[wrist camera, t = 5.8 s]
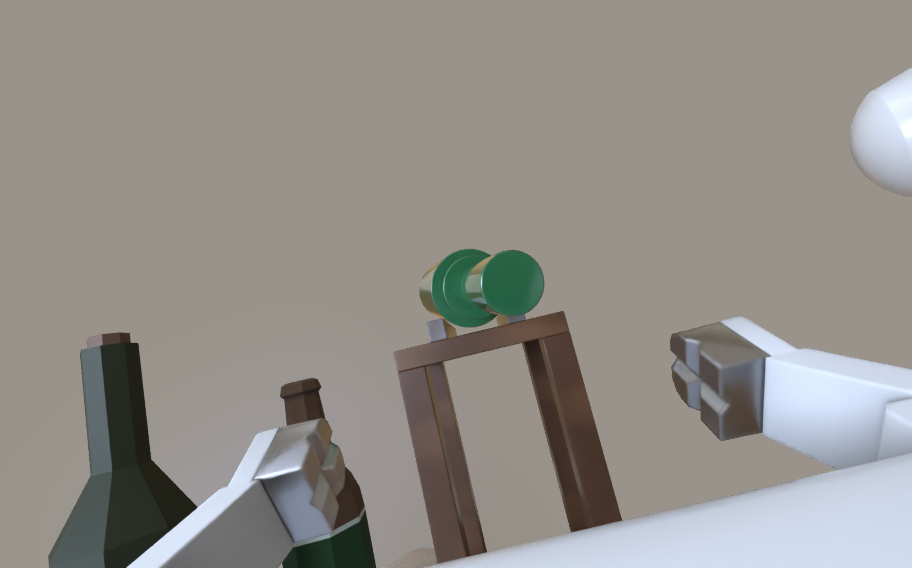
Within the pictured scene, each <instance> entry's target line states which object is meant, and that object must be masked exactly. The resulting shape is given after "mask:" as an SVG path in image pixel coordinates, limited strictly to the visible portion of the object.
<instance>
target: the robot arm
mask: <svg viewBox="0 0 912 568" xmlns="http://www.w3.org/2000/svg"><path fill="white" fill-rule="evenodd" d="M850 149H851V153H852V156H853V159H854V161H855V163H856V165H857V167H858V168H859V169H860V170H861V172H862V173H863V174H864V175H865V176H866V177H867V178H868V179H870V180H871V181H872V182H873V183H875V184H876V185H878V186H880V187H882V188H884V189H886V190H888V191H891V192H893V193H896V194H899V195H903V196H908V197H912V68H910V69H908V70H906V71H905V72H903V73H901V74H900V75H898V76H896V77H895V78H893V79H891V80H889V81H888V82H886V83H884V84H883V85H881V86H879V87H878V88H876V89H874V90H873V91H871V92H870V93H868V94H867V96H866V97H865V98H864V100H863V101H862V103H861V104H860V106H859V108H858V110H857V112H856V114H855V116H854V119H853V122H852V125H851V130H850ZM670 349H671V351H672V352H673V353H674V354H675V355H676V356H677V359H676V361H675V362H674V363H673V365H672V367H671V368H672V378H673V382H674V384H675V387H676V390H677V392H678V394H679V395H680V397H681V399H682V400H683V401H684V402H685V403H686V404H687V405H688V406H689V407H691V408H694V409H696V410H699V411H701V421H702V422H703V423H704V424H705V425H706V426H707V427H708V428H709V429H710V430H711V431H712V432H713V433H714V434H715V435H716V436H717V438H718V439H719V440H721V441H724V440H729V439H734V438H739V437H743V436H748V435H753V434H758V433H763V435H765V436H767V437H769V438H771V439H773V440H775V441H777V442H780V443H782V444H784V445H786V446H788V447H790V448H792V449H794V450H797V451H799V452H801V453H803V454H805V455H808V456H809V457H811V458H814V459H816V460H818V461H820V462H822V463H824V464H826V465H828V466H831V467H833V468H835V469H837V471H833V472H828V473H824V474H820V475H816V476H811V477H807V478H803V479H799V480H795V481H790V482H786V483H782V484H778V485H774V486H769V487H765V488H761V489H756V490H752V491H748V492H743V493H739V494H735V495H731V496H726V497H722V498H718V499H713V500H709V501H704V502H700V503H696V504H692V505H687V506H683V507H679V508H674V509H670V510H666V511H661V512H657V513H653V514H649V515H644V516H640V517H635V518H632V519H627V520H622V521H618V522H614V523H609V524H605V525H601V526H597V527H592V528H588V529H584V530H580V531H575V532H571V533H567V534H563V535H558V536H554V537H550V538H546V539H541V540H538V541H533V542H529V543H525V544H520V545H516V546H512V547H508V548H503V549H499V550H495V551H491V552H486V553H482V554H478V555H473V556H469V557H465V558H461V559H456V560H452V561H448V562H443V563H439V564H435V565H431V566H426V567H422V568H912V370H911V369H906V368H901V367H896V366H891V365H886V364H881V363H876V362H872V361H867V360H862V359H857V358H852V357H847V356H842V355H837V354H832V353H827V352H822V351H817V350H813V349H807V348H804V349H800V350H798V349H796V348H794V347H792V346H791V345H789V344H788V343H786V342H785V341H783V340H781V339H780V338H778V337H776V336H775V335H773V334H771V333H770V332H768V331H766V330H765V329H763V328H761V327H760V326H758V325H756V324H755V323H753V322H751V321H750V320H748V319H746V318H745V317H739V316H737V317H733V318H730V319H726V320H722V321H719V322H716V323H713V324H709V325H705V326H701V327H698V328H693V329H690V330H686V331H682V332H678V333H674V334H672V336H671V339H670ZM331 435H332V430H331V428H330V426H329V424H328V422H327V420H325V419H323V418H320V419H316V420H311V421H307V422H302V423H298V424H293V425H289V426H285V427H281V428H275V429H271V430H267V431H263V432H260V433H259V434H257V435H256V436H255V438H254V440H253V442H252V444H251V445H250V447H249V449H248V451H247V453H246V455H245V456H244V458H243V460H242V462H241V463H240V465H239V467H238V469H237V471H236V473H235V475H234V476H233V478H232V480H231V482H230V484H229V486H228V487H225V488H221V489H220V490H218V491H217V492H216V493H215V494H214V495H212V496H211V497H210V498H209V499H208V500H206V501H205V502H204V503H203V504H202V505H201V506H199V507H198V508H197V509H196V510H195V511H193V512H192V513H191V514H190V515H189V516H187V517H186V518H185V519H184V520H183V521H181V522H180V523H179V524H178V525H177V526H175V527H174V528H173V529H172V530H171V531H170V532H168V533H167V534H166V535H165V536H164V537H162V538H161V539H160V540H159V541H158V542H156V543H155V544H154V545H153V546H152V547H150V548H149V549H148V550H147V551H146V552H145V553H143V554H142V555H141V556H140V557H139V558H137V559H136V560H135V561H134V562H133V563H131V564H130V565H129V566H128V567H127V568H278V567H279V566H280V565H281V563H282V562H283V560H284V559H285V558H286V556H287V555H288V554H289V552H290V551H291V549H292V548H293V547H294V543H297V542H301V541H304V540H308V539H312V538H315V537H319V536H323V535H327V534H330V533H333V531H334V526H335V522H336V517H337V513H338V509H339V504H338V502H337V500H336V496H337V495H338V494H339V493H340V492H341V491H342V489H343V486H344V481H345V464H344V460H343V456H342V453H341V451H340V448H339V447H338V446H337V445H335V444H333V443H332V442H330V439H331Z"/></svg>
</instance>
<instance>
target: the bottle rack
mask: <svg viewBox="0 0 912 568" xmlns="http://www.w3.org/2000/svg"><path fill="white" fill-rule="evenodd" d="M497 323H498V327H494V328H490V329H486V330H482V331H477V332H473V333H469V334H465V335H461V336H457V334H456V330H455V328H454V327H453V326H451V325H450V324H449V323H448V322H446V321H445V320H444V319H438V320H434V321H429V322H427V323H426V324H427V329H428V333H429V337H430V342H431V343H427V344H424V345H419V346H415V347H411V348H407V349H403V350H398V351H395V352H394V356H395V361H396V365H397V371H398V372H399V373H398V375H399V380H400V385H401V390H402V395H403V399H404V404H405V409H406V414H407V419H408V423H409V428H410V433H411V438H412V443H413V447H414V452H415V457H416V462H417V466H418V471H419V476H420V481H421V485H422V490H423V495H424V500H425V504H426V509H427V514H428V519H429V524H430V528H431V533H432V538H433V543H434V548H435V553H436V557H437V562H438V564H439V563H443V562H448V561H452V560H456V559H461V558H465V557H469V556H473V555H478V554H482V553H486V552H487V551H486V547H485V542H484V537H483V533H482V529H481V524H480V520H479V515H478V511H477V507H476V502H475V498H474V493H473V490H472V485H471V480H470V476H469V472H468V467H467V463H466V458H465V454H464V449H463V445H462V441H461V437H460V432H459V428H458V423H457V419H456V414H455V410H454V405H453V402H452V397H451V392H450V388H449V384H448V379H447V375H446V370H445V366H444V361H447V360H452V359H456V358H460V357H464V356H468V355H472V354H477V353H481V352H485V351H490V350H494V349H498V348H501V347H506V346H510V345H515V344H519V343H522V345H523V349H524V352H525V356H526V360H527V364H528V367H529V372H530V376H531V379H532V383H533V387H534V391H535V395H536V399H537V403H538V406H539V410H540V414H541V418H542V421H543V426H544V429H545V434H546V437H547V441H548V445H549V449H550V453H551V457H552V461H553V464H554V468H555V472H556V476H557V480H558V483H559V488H560V491H561V495H562V499H563V503H564V507H565V511H566V515H567V518H568V522H569V526H570V530H571V532H575V531H580V530H584V529H588V528H592V527H597V526H601V525H605V524H609V523H614V522H618V521H622V518H621V515H620V511H619V508H618V504H617V500H616V497H615V493H614V490H613V486H612V482H611V479H610V475H609V472H608V468H607V464H606V461H605V458H604V454H603V450H602V446H601V443H600V439H599V436H598V432H597V428H596V425H595V421H594V418H593V414H592V410H591V407H590V403H589V400H588V396H587V392H586V389H585V385H584V382H583V378H582V374H581V371H580V367H579V364H578V360H577V356H576V353H575V349H574V346H573V342H572V339H571V335H570V332H568V331H569V328H568V325H567V321H566V317H565V314H564V311H561V312H557V313H553V314H548V315H544V316H540V317H536V318H532V319H527V320H525V314H522V315H519V316H506V315H500V314H499V315H498V317H497Z"/></svg>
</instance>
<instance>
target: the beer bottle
mask: <svg viewBox="0 0 912 568" xmlns="http://www.w3.org/2000/svg"><path fill="white" fill-rule="evenodd" d="M320 388H321V385H320V383H319V381H318V379H314V378H310V379H305V380H301V381H297V382H292V383H288V384H285V385H284V386H282V388H281V394H280V397H281V398H283V399H284V401H285V411H286V421H287V426H289V425H293V424H298V423H302V422H307V421H311V420H316V419H320V418H323V419H325V416H324V412H323V408H322V403H321V400H320V395H319V390H320ZM330 442H331V440H330ZM336 500H337V502H338V504H339V509H338V513H337V517H336V522H335V526H334V531H333V533H330V534H327V535H323V536H319V537H315V538H312V539H308V540H304V541H301V542H297V543H294V547H293V548H292V549H291V551H290V552H289V554H288V555H287V556H286V558H285V559H284V560H283V562H282V565H283V568H376V564H375V559H374V553H373V548H372V542H371V537H370V532H369V527H368V521H367V517H366V511H365V505H364V502H363V498H362V495H361V491H360V487H359V485H358V483H357V482H356V480H355V478H354V477H353V475H352V473H351V472H350V471H349V470H348V469H347V468H346V467H345V481H344V486H343V489H342V491H341V492H340V493H339V494H338V495H337V496H336Z"/></svg>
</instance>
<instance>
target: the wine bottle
mask: <svg viewBox="0 0 912 568" xmlns="http://www.w3.org/2000/svg"><path fill="white" fill-rule="evenodd" d="M87 345H88V348H87V349H84V350H81V352H80V358H81V369H82V381H83V392H84V403H85V415H86V426H87V437H88V449H89V460H90V471H91V476H90V478H89V480H88V482H87V484H86V486H85V488H84V489H83V491H82V493H81V495H80V497H79V499H78V501H77V503H76V505H75V507H74V508H73V510H72V512H71V514H70V516H69V518H68V520H67V522H66V524H65V526H64V527H63V529H62V531H61V533H60V535H59V537H58V539H57V541H56V543H55V545H54V547H53V548H52V550H51V552H50V554H49V556H48V558H49V568H127V567H128V566H129V565H130V564H131V563H133V562H134V561H135V560H136V559H137V558H139V557H140V556H141V555H142V554H143V553H145V552H146V551H147V550H148V549H149V548H150V547H152V546H153V545H154V544H155V543H156V542H158V541H159V540H160V539H161V538H162V537H164V536H165V535H166V534H167V533H168V532H170V531H171V530H172V529H173V528H174V527H175V526H177V525H178V524H179V523H180V522H181V521H183V520H184V519H185V518H186V517H187V516H189V515H190V514H191V513H192V512H193V511H195V510H196V509H197V508H198V507H197V506H196V505H195V504H194V503H193V502H192V501H191V500H190V499H189V498H188V497H187V496H186V495H185V494H184V493H183V492H182V491H181V490H180V489H179V488H178V487H177V486H176V484H175V483H174V482H173V481H172V480H171V479H170V478H169V477H168V476H167V475H166V474H165V473H164V472H163V471H162V470H161V469H160V468H159V467H158V466H157V465H156V464H155V463H154V462H153V461H152V460H151V453H150V445H149V435H148V427H147V418H146V408H145V400H144V390H143V382H142V372H141V363H140V354H139V345H138V343H131V342H130V333H111V334H101V335H97V336H93V337H88V339H87Z"/></svg>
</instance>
